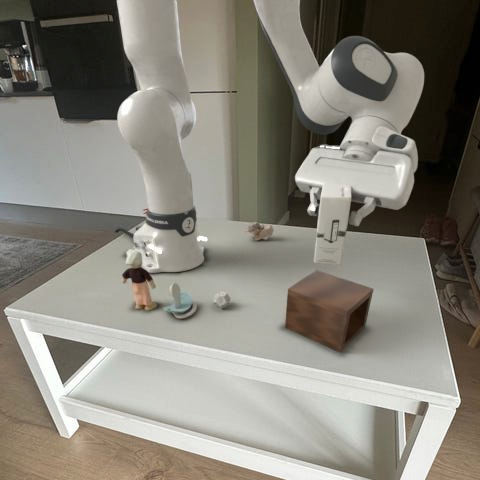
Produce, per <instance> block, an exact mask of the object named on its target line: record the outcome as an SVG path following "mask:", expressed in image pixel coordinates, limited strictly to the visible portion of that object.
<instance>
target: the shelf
mask: <svg viewBox="0 0 480 480" xmlns="http://www.w3.org/2000/svg"><path fill="white" fill-rule="evenodd" d="M374 290H375V289H374V288H372V287H370V286H367V285H364V284H361V283H358V282H354V281H351V280H349V279H345V278H343V277H340V276H336V275H334V274H330V273H327V272H324V271H321V270H318V269H316V270H314V271H312V272H311V273H309V274H308V275H307V276H305V277H304V278H302V279H301V280H299V281H297V282H296V283H294V284H292V285H291V286H289V287H288V288H287V295H286V296H287V297H286V309H285V323H284V328H285V329H287V330H289V331H291V332H294V333H295V334H298V335H300V336H302V337H304V338H307V339H309V340H310V341H313V342H315V343H318V344H320V345H322V346H324V347H327V348H329V349H330V350H333V351H335V352H338V353H340V354H341V353H342V352H343V351H344V350H345V349H346V348H347V347H348V346H349V344H351V343H352V342H353V341H354V340H355V339H356V338H357V337H358V336H359V335H360V334H361V333H362V332H363V331H364V330H365V329H366V326H367V321H368V317H369V311H370V307H371V303H372V299H373V294H374Z"/></svg>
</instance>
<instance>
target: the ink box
mask: <svg viewBox="0 0 480 480" xmlns="http://www.w3.org/2000/svg"><path fill="white" fill-rule="evenodd" d="M351 197H352V196H351V186H349V185H342V184H334V183H324V184H323V187H322V192H321V198H320V200H319V213H318V216H317V226H316V232H315V233H316V236H315V245H314V256H313V263H314V264H322V265H333V266H334V265H336V266H342V262H343V255H344V249H345V243H346V236H347V231H348V230H347V229H348V224H349V222H348V219H349V217H350V210H351V203H352V201H351Z"/></svg>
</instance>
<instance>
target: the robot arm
mask: <svg viewBox="0 0 480 480" xmlns="http://www.w3.org/2000/svg"><path fill="white" fill-rule="evenodd" d="M300 2H301V0H253V3H254V6H255V11H256V13H257V17H258V20H259V24H260V25H261V29H262V31H263V34H264V35H265V39H266V40H267V42H268V45H269V46H270V49H271V51H272V53H273V55H274V57H275V59H276V62H277V63H278V65H279V68H280V69H281V72H282V73H283V76H284V77H285V80H286V81H287V84H288V87H289V89H290V91H291V94H292V98H293V102H294V107H295V111H296V115H297V117H298V120H299V121H300V123H301V124H302V125H303V127H304V128H305V129H306V130H308V131H309V132H311V133H314V134H316V135H323V136H324V135H330V134H332V133H334V132H336V131H337V130H339V128H340V127H341V126H342V125H343V124H344V123H345V122H346V120H347V119H348V118H349V117H350V118H351V123H350V125H349V128H348V129H347V131H346V133H345V135H344V138H343V140H342V141H341V143H340V145H337V144H335V145H334V144H333V145H331V144H330V145H329V144H327V143H321V144H319V145H318V146H316V147H313V148H311V150H310V151H309V153H308V155H307V156H306V157H305V159H304V160H303V162H302V164H301V165H300V167H299V168H298V170H297V172H296V173H295V174H294V175H295V176H294V181H295V184H296V186H297V187H298V189H299V190H300V192H302V193H308V194H309V197H310V198H309V199H310V204H309V206H308V207H307V209H306V211H307V214H308V215H309V216H312V217H316V218H318V215H319V206H320V203H318V200H319V201H320V198H321V192H322V187H323V184H324V183H334V184H342V185H349V186H351V196H352V197H351V202H355V203H359V204H363V205H362V206H361V208H359V209H358V210H357V211H356V210H352V211H351V213H350V215H349V218H348V224H349V225H351V226H354V227H359V226H360V224H361V222H362V220H363V219H364V218H366V217H367V216H368V215H370V214H371V213H372V212H374V211H375V208H376V207H379V208H386V209H390V210H395V211H398V210H400V209H402V208H404V207H405V206H406V205H407V203H408V201H409V199H410V196H411V193H412V191H413V188H414V184H415V173H416V171H417V169H418V165H419V163H418V162H419V156H418V149H417V148H418V147H417V145H416V141H415V140H414V139H413V138H410V137H408V136H405V135H403V134H402V131H403V130H404V129H406V127H407V126H408V124H409V123H410V121H411V119H412V116H413V114H414V113H415V111H416V108H417V106H418V104H419V101H420V99H421V95H422V93H423V89H424V84H425V71H424V68H423V65H422V63H421V62H420V61H419V59H418V58H417V57H416V56H414V55H413V54H410V53H407V52H395V53H390V52H386V51H384V50H383V49H382V48H380V46H378V45H377V44H376V43H375V42H374V41H372V40H371V39H369V38H367V37H364V36H360V35H352V36H347V37H345V38H343V39H341V40H340V41H339V42H338V43H337V44H336V45H335V47H333V49H332V50H331V51H330V53H329V54H328V55H327V57H326V58H324V60H323V62H322V64H321V65H319V64H318V61H317V59H316V57H315V54H314V52H313V49H312V48H311V45H310V43H309V41H308V38H307V36H306V34H305V31H304V29H303V27H302V22H301V15H300ZM116 6H117V12H118V18H119V24H120V31H121V38H122V44H123V45H122V46H123V50H124V53H125V55H126V57H127V59H128V61H129V62H130V64H131V66H132V67H133V70H134V74H135V76H136V79H137V82H138V85H139V88H140V90H138V91H135V92H133V93H132V94H130V95H129V96H128V97H127V98H126V99H125V100H124V101H123V102H121V104H120V105H119V108H118V111H117V115H116V117H117V119H116V120H117V126H118V130H119V133H120V135H121V136H122V138H123V140H124V141H125V142H126V143H127V144H128V145H129V146H130V148H131V149H132V151H133V153H134V156H135V158H136V160H137V163H138V165H139V169H140V171H141V175H142V179H143V183H144V189H145V196H146V203H147V208H144V209H142V211H143V213H142V214H143V215H145V222H144V224H141V225H139V226H136V227H135V232H134V233H132V232H130V231H128V230H127V229H125V228H122V227H117V228H116V229H115V230H114V233H117V234H118V233H119V232H123V233H124V234H125V235H127V236H129V237H131V238H133V240H132V241H133V247H131V248H129V249H128V250H127V251H126V252H125V253H126V257H127V256H128V254H129V253H130V252H132V251H135V250H136V251H139V252H140V253H141V254H142V257H143V258H142V266H141V268H143V269H145V270H147V271H148V273H149V274H156V273H177V272H178V273H179V272H186V271H189V270H193V269H195V268H197V267H199V266H200V265H202V264H203V263H204V261H205V256H204V253H205V248H204V246H202V242H201V241H204V242H207V241H208V238H207V237H206V236H201V235H200V230H199V225H198V223H197V221H198V219H197V209H196V206H195V205H194V194H193V181H192V174H191V171H190V170H189V168H188V167H187V163H186V160H185V157H184V154H183V150H182V144H181V143H182V141H183V140H185V139H187V137H188V136H189V135H190V134H191V132H192V131H193V129H194V127H195V125H196V121H197V110H196V106H195V104H194V102H193V100H192V96H191V92H190V87H189V81H188V77H187V73H186V70H185V63H184V59H183V54H182V53H183V52H182V46H181V45H182V44H181V34H180V25H179V24H180V23H179V12H178V11H179V10H178V1H177V0H116Z"/></svg>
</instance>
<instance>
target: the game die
mask: <svg viewBox="0 0 480 480" xmlns="http://www.w3.org/2000/svg"><path fill="white" fill-rule="evenodd" d="M213 304H214V305H215V307H217V308H219V309H220V310H222V309H225V308H228V307H229V306H230V304H231V296H230V295H229V294H228V293H227V292H225V291H223V290H222V291H218V292H216V293H215V295H214V296H213Z"/></svg>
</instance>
